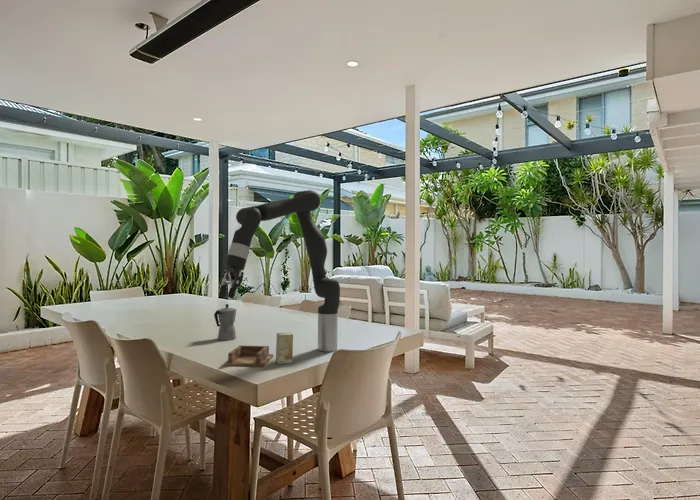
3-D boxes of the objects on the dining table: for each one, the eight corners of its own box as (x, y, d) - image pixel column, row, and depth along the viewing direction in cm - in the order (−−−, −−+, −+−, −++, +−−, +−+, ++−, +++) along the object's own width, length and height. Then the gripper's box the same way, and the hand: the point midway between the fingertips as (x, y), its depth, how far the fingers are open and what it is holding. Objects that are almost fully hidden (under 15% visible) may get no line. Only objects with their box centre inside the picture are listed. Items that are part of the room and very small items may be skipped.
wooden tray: (237, 355, 193) (237, 344, 193) (273, 356, 191) (273, 345, 191) (224, 365, 177) (224, 353, 177) (263, 366, 175) (263, 354, 175)
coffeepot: (228, 335, 234) (228, 302, 234) (242, 337, 230) (242, 303, 229) (207, 341, 220) (207, 305, 220) (221, 343, 216) (221, 306, 216)
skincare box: (278, 364, 179) (278, 335, 178) (275, 362, 183) (275, 332, 182) (293, 363, 181) (293, 333, 181) (290, 360, 185) (290, 331, 185)
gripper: (254, 259, 166) (242, 300, 162) (238, 259, 177) (227, 298, 173) (236, 253, 161) (224, 296, 158) (221, 253, 172) (209, 294, 169)
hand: (225, 297), depth 165 cm, fingers open, 8 cm apart
